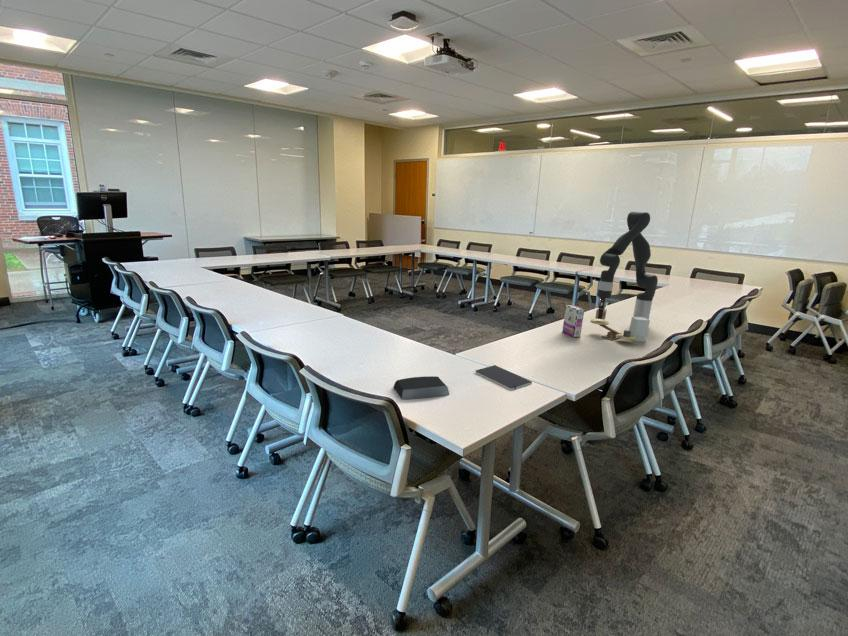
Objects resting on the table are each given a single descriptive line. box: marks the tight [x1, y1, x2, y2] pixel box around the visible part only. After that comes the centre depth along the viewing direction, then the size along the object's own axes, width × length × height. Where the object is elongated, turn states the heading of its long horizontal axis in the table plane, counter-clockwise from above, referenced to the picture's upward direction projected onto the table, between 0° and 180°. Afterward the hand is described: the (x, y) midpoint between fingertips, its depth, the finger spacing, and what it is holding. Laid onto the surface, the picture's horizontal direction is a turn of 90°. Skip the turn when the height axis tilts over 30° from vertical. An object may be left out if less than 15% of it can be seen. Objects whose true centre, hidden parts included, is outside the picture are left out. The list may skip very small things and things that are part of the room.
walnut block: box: [594, 308, 608, 321], centre depth 262 cm, size 5×5×5 cm
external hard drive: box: [393, 375, 450, 401], centre depth 176 cm, size 13×19×4 cm
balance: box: [590, 318, 636, 341], centre depth 257 cm, size 28×10×7 cm, turn 36°
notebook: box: [475, 364, 533, 391], centre depth 193 cm, size 13×2×21 cm
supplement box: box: [629, 316, 650, 343], centre depth 256 cm, size 7×7×13 cm
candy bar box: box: [561, 304, 585, 338], centre depth 258 cm, size 11×5×16 cm, turn 17°
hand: (600, 317), depth 262 cm, fingers closed on walnut block, 5 cm apart
